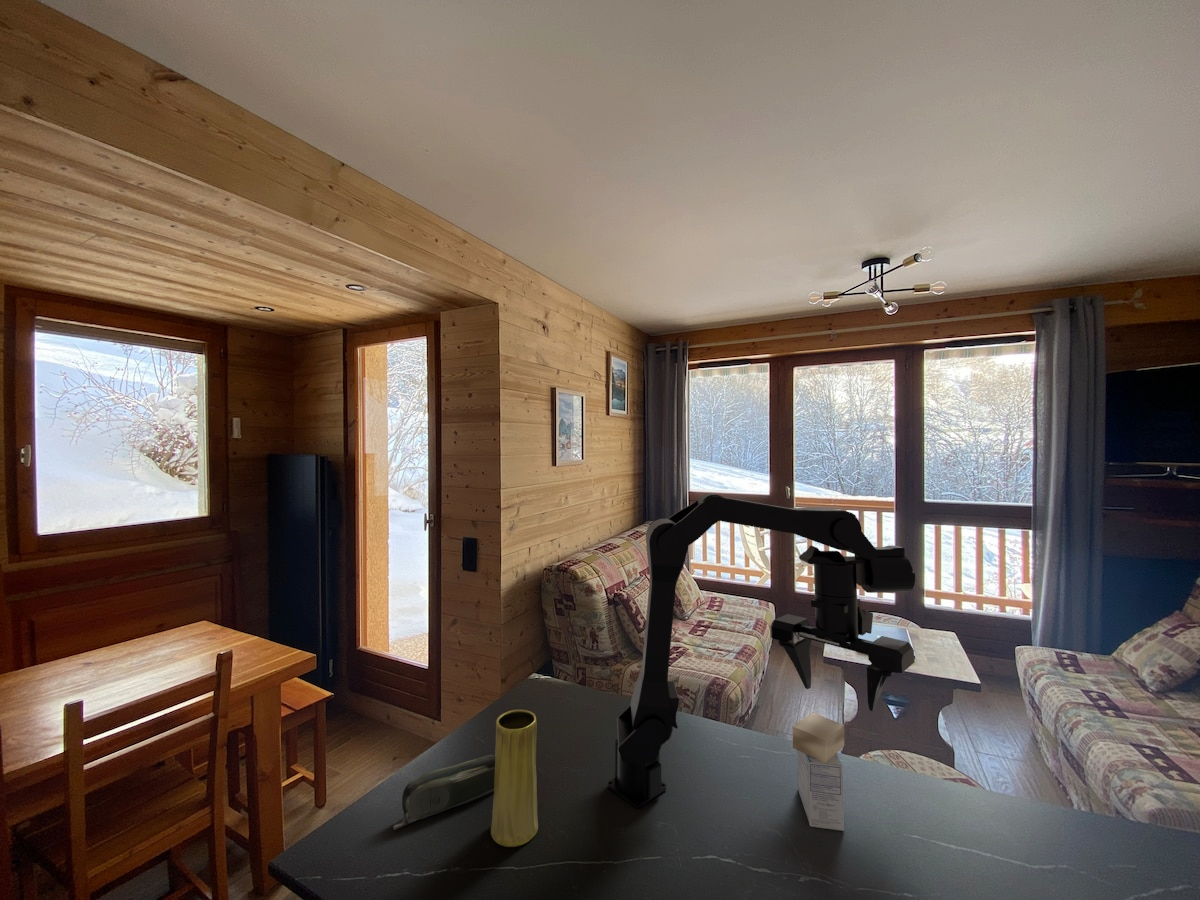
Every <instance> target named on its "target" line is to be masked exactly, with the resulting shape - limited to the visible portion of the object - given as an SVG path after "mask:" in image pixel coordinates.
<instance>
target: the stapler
mask: <svg viewBox="0 0 1200 900" xmlns="http://www.w3.org/2000/svg"><path fill="white" fill-rule="evenodd" d="M494 776H495V753H491V754H488V755H484V756H482V757H478V758H475V759H470V760H467V761H464V762H462V763H458V764H456V765H451V766H446V767H442V768H440V769H434V770H432V771H429V772H426V773H423V774H422V775H420V776H419V777H417V778H415V779H414V780H412V781H410V782H409V783H408V784H407V785H406V786H405V787H404V790H403V793H402V799H401V800H402V801H401V805H402V806H401V807H402V810H403V815H404V816H403V819H402V820H400V821H398V822H395V823H394V824H392V828H393V830H394V831H396V830H398V829H400V828H402V827H405V826H407V825H409V824H412V823H415V822H416V821H419V820H423V819H425V818H428V817H430V816H434V815H437V814H440V813H442V812H445V811H447V810H448V811H449V810H450V809H453V808H455V807H458V806H459V807H460V806H462V805H465V804H468V803H471V802H474V801H476V800H478V799H481V798H484V797H487V796H490V795H491V794H494Z"/></svg>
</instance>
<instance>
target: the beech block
mask: <svg viewBox="0 0 1200 900" xmlns="http://www.w3.org/2000/svg"><path fill="white" fill-rule="evenodd" d="M844 747H845V724H843V723H840V722H838V721H837V720H836V721H835V720H833V719H830V718H828V717H825V716H822V715H820V714H818V713H815V712H811V713H810V714H808V715H807V716H805V717H804V718H803V719H801V720H799V721H798V722H797V723H795V724H794V725H792V749H794V750H796V751H797V750H798V751H800V752H803V753H805V754H807V755H809V756H811V757H813V758H815V759H817V760H819V761H821V762H824V763H826V762H827V761H828V760H829V759H830V758H832V757H833V756H834V755H835V754H838V752H840V751H841V750H842V749H843V748H844Z"/></svg>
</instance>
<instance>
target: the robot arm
mask: <svg viewBox="0 0 1200 900" xmlns="http://www.w3.org/2000/svg"><path fill="white" fill-rule="evenodd" d="M718 522H722V523H723V522H724V523H730V524H736V525H741V526H747V527H752V528H758V529H765V530H771V531H776V532H781V533H787V534H794V535H796V536H799V537H800V538H801V537H802V538H805V539H807V540H810V541H813V542H816V543H817V544H821V545H824V546H826V547H829V548H833V549H836V550H820V549H819V548H818V547H817V546H814V545H809V546H808V548H807V549H806V550H805V551H803V553H801V554H800V555H799V556H798V559H799V560H800V561H802V562H803V563H807V565H813V575H814V576H813V577H814V578H813V579H814V580H813V583H814V598H812V599H811V600H810V606H811V608H814V611H815V613H814V615H815V618H814V619H815V626H811V622H810V620H809V619H808V618H807V617H802V616H798V615H794V614H789V613H787V614H785V615H781V616H779V617H777V618H775V619H773V621H772V622H771V624H770V626H769V627H770V638H771V639H773V640H777V643H778V646H780V647H782V648H783V649H784V651H785V652H786V654H787V656H788V657H789V660H790V661H791V662H792V665H794V668H795V670H796V672H797V674H798V677H800V680H801V683H802V684H803V686H804V689H805V690H809V689H811V687H812V669H811V668H812V667H811V666H812V665H811V655H810V649H811V646H812V641H815V642H819V643H822V644H826V645H831V646H834V647H837V648H842V649H844V650H849V651H851V652H852V651H853V652H856V653H860V654H864V655H867V656H868V657H867V659H868V661H869V662H870V663H871V664H869V665H868V666H867V667H866V688H867V689H866V690H867V691H866V692H867V707H868V710H869V712H873V711H875V710H876V707H877V704H878V702H879V698H880V696H881V694H882V691H883V688H884V685H885V683H886V681H887V679H888V678H890V677H893V676H894V675H895V674H903V673H904V672H905V671H907V669H909V668H910V667H911V666H912V665H913V664H915V650H914V648H913V646H912V645H911V643H909V641H907V640H903V639H902V640H901V639H896V638H893V637H888V636H885V635H881V636H880V637H878V638H876V639H875V640H873V641H872V640H868V639H865V638H864V639H863V638H859V636H864V635H866V634H872V628H873V621H874V620H873V618H874V613H873V612H870V611H869V610H865V609H863V608H862V601H861V598H858V587H857V585H858V586H860V587H861V588H862V590H863V591H864V592H866V593H868V594H869V593H870V594H872V593H873V594H875V593H876V594H877V593H880V594H881V593H882V594H883V593H884V594H885V593H910V592H911V591H912V590H913V589H914V587H915V584H916V573H915V571H914V570H913V566H912V564H911V562H910V560H909V558H908V557H907V556H906V554H905V553H906V552H905V548H904V547H902V546H898V545H885V546H874V545H873V544H872V543H871V541H870V540H869V539H868V537H867V536H866V535H865V534H864V533H863V531H862V524H861V521H860V520H859V519H858V517H857V515H855V514H854V513H853V512H850V511H847V510H842V509H838V508H832V507H825V506H820V507H817V506H815V507H811V506H810V507H809V506H808V507H786V506H777V505H771V504H766V503H762V502H761V503H760V502H754V501H749V500H743V499H736V498H731V497H725V496H721V495H720V494H716V493H712V492H711V493H709V492H707V493H704V494H702V495H701V496H700V497H698V499H696V500H695V501H694V502H692V503H691V504H689V505H686V506H685V507H684V508H681V509H680V510H678V511H677V512H675V513H674V514H672V515H671V516H669V517H668V518H658V519H656V520H655V521H653V522H651V523H650V524H649V525H648V527H647V529H646V533H645V544H646V556H647V557H646V558H647V565H648V572H649V584H648V585H649V587H648V596H647V597H648V598H647V607H646V608H647V609H646V620H645V629H644V641H643V651H642V661H641V662H642V663H641V670H640V672H639V673H638V674H639V675H638V677H637V679H636V682H635V684H634V689H633V692H632V696H631V699H630V704H629V705H628V706H627V707H626V708H625V709H624V710H623V711H622V712H621V713H620V714H619V715H618V716H617V718H616V722H617V723H616V726H617V739H615V741H614V777H613V778H611V779H610V780H608V781H607V782H606V784H607V785H606V787H607V788H608V789H610V790H611V791H613V792H614V793H616V794H617V795H618V796H619V797H621V798H622V799H623V800H625V801H626V802H627V803H629V804H631V805H632V806H633V807H635V808H636V809H637V808H641V807H643V806H644V805H645V804H647V803H649V801H651V800H654V798H655V797H657V796H658V795H660V794H662V793H663V792H665V791H666V790H667V784H666V783H665V782H664V781H662V763H661V761H660V757H661V756H660V755H661V754H660V753H661V752H660V751H661V748H662V745H664V744H665V743H666V742H668V741H670V739H671V737H672V735H673V734H672V733H673V729H674V728H675V729H678V723H677V712H678V709H679V706H680V705H679V704H680V703H679V702H680V697H679V695H678V691H677V687H676V684H675V682H674V681H669V679H668V678H669V667H670V655H671V644H672V634H673V623H674V622H673V621H674V611H675V600H676V599H675V598H676V587H677V583H678V581H679V578H680V576H681V574H682V571H683V568H684V565H685V562H686V559H687V553H688V550H689V546H690V545H692V544H693V543H694V542H696V541H698V540H699V539H700V538H701V537H702V536H703V535H704V534H705V533H706V532H708V530H709V529H711V528H712V527H713V526H714V525H715V524H717V523H718ZM838 550H839V551H838ZM840 551H844V552H847V553H850V554H853V555H854V556H848V555H847V556H844V555H843V554H842V553H841V552H840Z"/></svg>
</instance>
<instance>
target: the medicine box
mask: <svg viewBox="0 0 1200 900" xmlns="http://www.w3.org/2000/svg"><path fill="white" fill-rule="evenodd" d="M796 753H797V754H796V756H797V757H796V761H797V762H796V763H797V764H796V767H797V768H796V769H797V772H796V773H797V775H796V777H797V778H796V779H797V781H796V782H797V791H798V793H799V797H800V799H801V802H802V805H803V809H804V811H805V814H806V818H807V821H808V825H809V827H812V828H817V829H825V830H832V831H839V832H843V831H845V818H844V816H845V815H844V811H845V810H844V774H843V771H844V770H843V764H842V763H841V761H840V759H839V756H838V753H836V754H835V755H834V756H833V757H832V758H830V759H829V760H828V761H827V762H826V763H824V762H821V761H819V760H817V759H815V758H813V757H811V756H809V755H807V754H805V753H803V752H800V751H798V750H796Z"/></svg>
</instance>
